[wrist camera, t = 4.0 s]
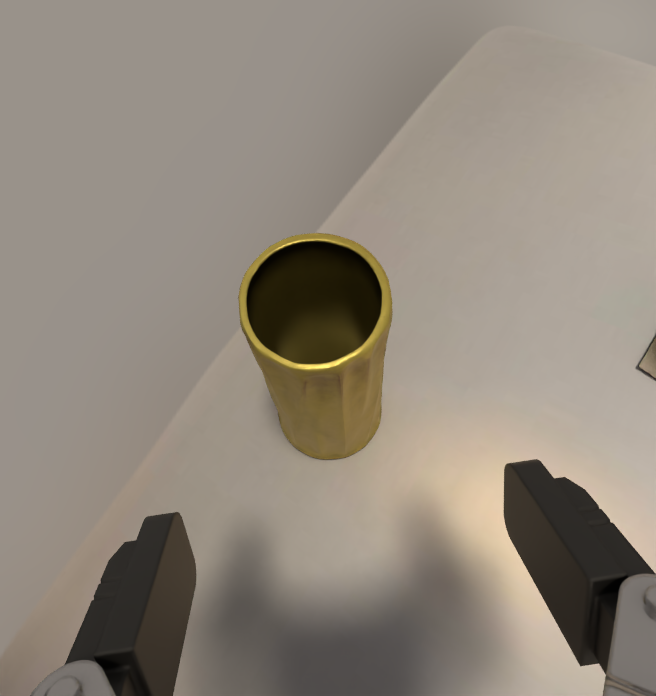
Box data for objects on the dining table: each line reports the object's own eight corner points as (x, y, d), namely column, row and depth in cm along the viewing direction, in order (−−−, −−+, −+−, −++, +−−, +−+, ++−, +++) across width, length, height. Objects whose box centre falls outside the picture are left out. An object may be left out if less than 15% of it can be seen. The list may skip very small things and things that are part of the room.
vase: (305, 479, 29) (267, 418, 15) (262, 386, 31) (196, 263, 17) (399, 430, 29) (441, 332, 16) (351, 344, 32) (352, 195, 18)
